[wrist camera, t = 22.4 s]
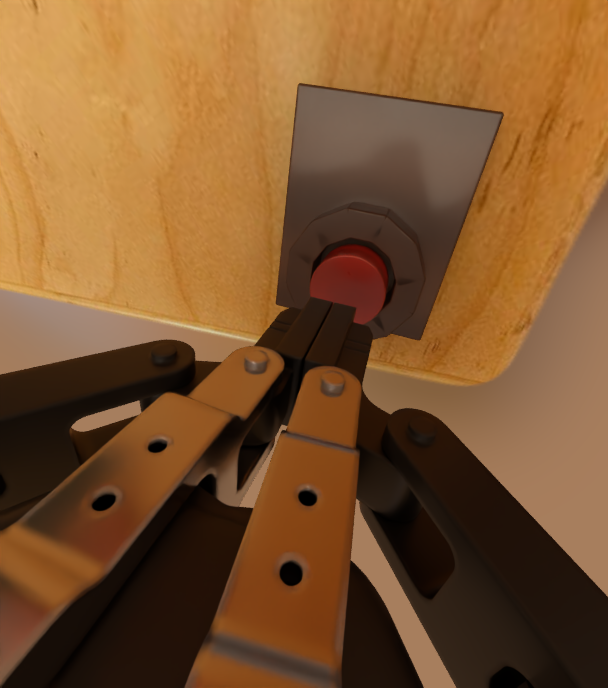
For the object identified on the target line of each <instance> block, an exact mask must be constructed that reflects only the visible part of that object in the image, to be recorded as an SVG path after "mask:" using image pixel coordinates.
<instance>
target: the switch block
mask: <svg viewBox="0 0 608 688" xmlns="http://www.w3.org/2000/svg"><path fill="white" fill-rule="evenodd" d="M503 116H504V113H503V112H499V111H492V110H485V109H478V108H471V107H464V106H457V105H450V104H443V103H436V102H429V101H422V100H415V99H408V98H401V97H394V96H387V95H380V94H373V93H366V92H359V91H352V90H345V89H338V88H331V87H324V86H317V85H310V84H303V83H299V84H298V88H297V98H296V108H295V118H294V128H293V138H292V148H291V158H290V167H289V177H288V187H287V197H286V207H285V217H284V227H283V237H282V246H281V256H280V266H279V276H278V286H277V296H276V304H277V305H280V306H284V307H288V308H291V307H294V308H298V309H303V308H304V306H305V305H306V303H307V302H308V300H309V299H310V297H311V296H310V282H311V278H312V275H313V273H314V272H315V270H316V269H317V267H318V266H319V265H320V263H321V262H322V261H323V260H324V258H325V257H326V256H327V255H328V254H329V253H330V252H331V251H332V250H334V249H336V248H337V247H340V246H343V245H348V244H357V245H362V246H366V247H368V248H370V249H372V250H373V251H375V252H376V253H377V254H378V255H379V256H380V257H381V258H382V260H383V261H384V263H385V265H386V267H387V270H388V277H389V281H388V287H387V292H386V297H385V302H384V304H383V307H382V309H381V310H380V312H379V313H378V314H377V315H376V316H375V317H374V318H373V319H372V320H371V321H369V322H367V323H365V324H363V325H366V326H369V328H370V330H371V332H372V334H373V339H378V338H382V337H387V336H388V335H390V334H395V335H399V336H403V337H407V338H411V339H415V340H421V337H422V335H423V332H424V329H425V327H426V324H427V321H428V319H429V316H430V313H431V310H432V308H433V305H434V302H435V300H436V297H437V294H438V292H439V289H440V286H441V283H442V281H443V278H444V275H445V273H446V270H447V267H448V265H449V262H450V259H451V256H452V254H453V251H454V248H455V246H456V243H457V240H458V238H459V235H460V232H461V229H462V227H463V224H464V221H465V219H466V216H467V213H468V211H469V208H470V205H471V202H472V200H473V197H474V194H475V192H476V189H477V186H478V184H479V181H480V178H481V175H482V173H483V170H484V167H485V165H486V162H487V159H488V157H489V154H490V151H491V148H492V146H493V143H494V140H495V138H496V135H497V132H498V129H499V127H500V124H501V121H502V119H503ZM373 339H372V340H373Z"/></svg>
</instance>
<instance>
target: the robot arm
mask: <svg viewBox="0 0 608 688" xmlns="http://www.w3.org/2000/svg"><path fill="white" fill-rule="evenodd" d="M355 313H356V307H352V306H348V305H344V304H340V303H336V302H334V304H333V302H332V301H327V300H323V299H319V298H315V297H310V299H309V300H308V302H307V303H306V305H305V306H304V308H303V309H298V308H294V307H291V308H289V309H286V310H284V311H282V312H280V314H279V315H278V316H277V318H276V319H275V321H273V323H272V324H271V325H270V327H269V328H268V329H267V330H266V331H265V333H264V334H263V335H262V337H261V338H260V339H259V340H258V342H257V343H256V344H255V346H249V347H244V348H240V349H237V350H235V351H234V352H232V353H231V354H230V355H229V356H228V357H227V358H226V359H225V360H224V361H223V362H208V361H195V352H194V349H193V348H192V347H191V346H190V345H188V344H186V343H184V342H181V341H177V340H159V341H153V342H149V343H144V344H140V345H135V346H130V347H126V348H121V349H116V350H112V351H107V352H103V353H98V354H93V355H89V356H84V357H79V358H75V359H70V360H66V361H61V362H56V363H52V364H47V365H43V366H38V367H33V368H29V369H24V370H20V371H15V372H10V373H6V374H1V375H0V688H424V687H423V685H422V683H421V681H420V678H419V676H418V674H417V672H416V670H415V667H414V665H413V663H412V661H411V659H410V657H409V654H408V652H407V650H406V648H405V646H404V644H403V642H402V639H401V637H400V635H399V633H398V630H397V629H396V626H395V624H394V622H393V620H392V618H391V615H390V613H389V611H388V609H387V607H386V605H385V603H384V602H383V600H382V598H381V597H380V595H379V594H378V592H377V591H376V589H375V587H374V586H373V585H372V583H371V582H370V581H369V579H368V578H367V577H366V575H365V574H364V573H363V572H362V571H361V570H360V569H359V568H358V567H357V566H356V565H355V563H353V562H352V561H351V560H350V559H351V549H352V538H353V526H354V515H355V504H356V499H358V500H359V501H360V502H359V504H360V510H361V513H362V515H363V517H364V519H365V521H366V522H367V524H368V526H369V528H370V530H371V532H372V534H373V535H374V537H375V539H376V541H377V543H378V545H379V546H380V548H381V550H382V552H383V554H384V556H385V557H386V559H387V561H388V563H389V565H390V566H391V568H392V570H393V572H394V574H395V576H396V578H397V579H398V581H399V583H400V585H401V587H402V589H403V590H404V592H405V594H406V596H407V598H408V599H409V601H410V603H411V605H412V607H413V609H414V610H415V612H416V614H417V616H418V618H419V620H420V622H421V623H422V625H423V627H424V629H425V631H426V632H427V634H428V636H429V638H430V640H431V641H432V644H433V645H434V647H435V649H436V651H437V652H438V654H439V656H440V658H441V660H442V662H443V664H444V666H445V667H446V669H447V671H448V673H449V675H450V677H451V678H452V680H453V682H454V684H455V686H456V688H608V597H607V596H606V594H605V593H604V592H603V591H602V590H601V589H600V588H599V587H598V586H597V585H596V584H595V583H594V582H593V581H592V580H591V579H590V578H589V576H588V575H587V574H586V573H585V572H584V571H583V570H582V569H581V568H580V567H579V566H578V565H577V564H576V563H575V562H574V561H573V560H572V558H571V557H570V556H569V555H568V554H567V553H566V552H565V551H564V550H563V549H562V548H561V547H560V546H559V545H558V544H557V542H556V541H555V540H554V539H553V538H552V537H551V536H550V535H549V534H548V533H547V532H546V531H545V530H544V529H543V528H542V527H541V525H540V524H539V523H538V522H537V521H536V520H535V519H534V518H533V517H532V516H531V515H530V514H529V513H528V512H527V511H526V510H525V509H524V508H523V506H522V505H521V504H520V503H519V502H518V501H517V500H516V499H515V498H514V497H513V496H512V495H511V494H510V493H509V492H508V490H506V488H505V487H504V486H503V485H502V484H501V483H500V482H499V481H498V480H497V479H496V478H495V477H494V476H493V475H492V473H491V472H490V471H489V470H488V469H487V468H486V467H485V466H484V465H483V464H482V463H481V462H480V461H479V460H478V459H477V458H476V456H474V454H473V453H472V452H471V451H470V450H469V449H468V448H467V447H466V446H465V445H464V444H463V443H462V442H461V441H460V440H459V438H458V437H457V436H456V435H455V434H454V433H453V432H452V431H451V430H450V429H449V428H448V427H447V426H446V425H445V424H444V423H443V422H442V421H441V420H439V419H438V418H437V417H435V416H433V415H432V414H429V413H427V412H425V411H422V410H418V409H412V408H411V409H410V408H405V409H400V410H397V411H395V412H393V413H392V414H391V415H390V414H388V413H387V412H385V411H383V410H381V409H380V408H378V407H377V406H375V405H374V404H373V403H371V402H370V401H369V400H368V398H367V397H366V395H365V394H364V392H363V389H362V382H363V378H364V374H365V369H366V365H367V361H368V357H369V352H370V348H371V344H372V339H373V334H372V332H371V330H370V328H369V326H366V325H363V324H359V323H355V322H354V317H355ZM138 400H140V406H141V412H142V413H141V414H140V415H137V416H134V417H131V418H128V419H124V420H122V421H118V422H115V423H112V424H109V425H106V426H103V427H100V428H96V429H93V430H90V431H86V432H79V431H75V430H74V429H72V428H71V426H72V425H73V424H74V423H75V422H76V421H77V420H79V419H81V418H83V417H85V416H88V415H91V414H95V413H98V412H102V411H105V410H108V409H111V408H115V407H118V406H122V405H125V404H128V403H132V402H135V401H138ZM282 424H283V425H286V426H287V429H286V431H285V430H282V432H281V434H280V436H279V439H278V441H277V444H276V447H275V450H274V452H273V455H272V458H271V461H270V464H269V467H268V469H267V472H266V475H265V478H264V481H263V483H262V486H261V489H260V492H259V495H258V498H257V500H256V503H255V506H254V508H246V507H239V505H240V503H241V501H242V499H243V497H244V496H245V494H246V492H247V491H248V489H249V487H250V485H251V484H252V482H253V480H254V479H255V477H256V475H257V473H258V472H259V470H260V468H261V467H262V465H263V463H264V462H265V460H266V458H267V457H268V455H269V453H270V451H271V450H272V448H273V446H274V442H275V436H276V434H277V433H278V431H279V428H280V426H281V425H282Z"/></svg>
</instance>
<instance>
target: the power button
mask: <svg viewBox="0 0 608 688" xmlns="http://www.w3.org/2000/svg"><path fill="white" fill-rule="evenodd" d="M388 281H389V277H388V270H387V267H386V265H385V263H384V261H383V260H382V258H381V257H380V256H379V255H378V254H377V253H376V252H375V251H373V250H372V249H370V248H368V247H366V246H362V245H357V244H348V245H343V246H340V247H337V248H336V249H334V250H332V251H331V252H330V253H329V254H328V255H327V256H326V257H325V258H324V260H323V261H322V262H321V263H320V265H319V266H318V267H317V269H316V270H315V272H314V273H313V275H312V278H311V282H310V296H311V297H315V298H319V299H323V300H327V301H332V302H333V304H334V302H336V303H340V304H344V305H348V306H352V307H356V313H355V317H354V322H355V323H359V324H365V323H367V322H369V321H371V320H372V319H373V318H374V317H375V316H376V315H377V314H378V313H379V312H380V310H381V309H382V307H383V304H384V302H385V297H386V292H387V287H388Z"/></svg>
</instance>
